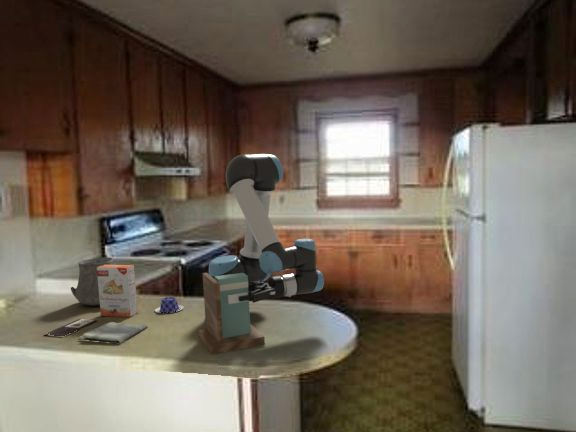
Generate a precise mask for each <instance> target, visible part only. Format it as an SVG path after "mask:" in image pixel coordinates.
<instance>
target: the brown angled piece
mask: <svg viewBox="0 0 576 432" xmlns="http://www.w3.org/2000/svg"><path fill="white" fill-rule="evenodd" d="M202 285H203V300H204V301H203V302H204V318H205V328H202V329H198V335H199V338H200V340H201V341H202V343H203V344H204V345H205V347H206V349H207V350H208V351H209V353H210V354H211V356H212V355H216V354H217V355H218V354H221V353H227V352H231V351H236V350H242V349H246V348H251V347H257V346H261V345H265V344H266V343H265V341H266V340H265V339H266V338H265V336H264V335H263V334H262V333H261V332H260V331H259V330H258V329H257V328H256V327H254V325H252V324H251V323H250V330H251V333H249V334H244V335H239V336H233V337H228V338H223V331H222V315H221V298H220V283H218V282H217V281H216V280H215V279H214V278H213V277H211V276H210V275H209V272H202Z"/></svg>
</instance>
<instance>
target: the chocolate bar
mask: <svg viewBox="0 0 576 432" xmlns="http://www.w3.org/2000/svg"><path fill="white" fill-rule="evenodd" d="M97 322H98V320H97V319H96V320H95V319H87V318H86V319H85V318H83V319H82V318H78V319H75V320H74V321H71V322H69V323H67V324H64V325H62V326H60V327H58V328H56V329H53V330H51V331H49V332H47V333H48V334H49V333H50V335H54V336H65V335H67V334H69V333H72V332H74V331H76V330H78V331H80V330H79V329H81V328H83V329H85V328H87V327H89V326H91V325H93V324H96V323H97ZM86 326H87V327H86ZM84 327H85V328H84ZM81 330H82V329H81ZM76 332H77V331H76ZM74 333H75V332H74ZM45 334H46V333H45ZM48 334H46V335H48ZM72 334H73V333H72Z"/></svg>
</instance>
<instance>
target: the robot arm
mask: <svg viewBox="0 0 576 432" xmlns="http://www.w3.org/2000/svg"><path fill="white" fill-rule="evenodd" d="M283 169H284V168H283V164H282V163H281V161H280V160H279V158H278V157H277V156H276V155H274V154H270V153H269V154H268V153H257V154H256V153H253V154H240V155H236V156H235V157H233V158H232V159H231V160H230V162H229V163H228V164H227V166H226V171H225V182H226V186H227V189H228V191H229V193H230V195H232V196H234V197H235V199H236V201H237V204H238V206H239V208H240V210H241V212H242V214H243V216H244V218H245V220H246V221H245V222H246V224H245V232H244V233H245V234H244V242H243V243H244V244H243V248H241V249H240V250H239V256H237V255H233V254H232V255H231V254H229V255H223V256H218V257H216V258H214V259H211V261H210V262H209V264H208V274H209V275H210V276H211V277H213V278H214V279H215V276H222V275H230V274H238V273H244V274H246V275H247V276H248V293H241V294H234V295H228V304H233V303H239V302H246V301H248V300H249V302H252V303H253V304H254V303H257V302H260V301H263V300H266V299H269V298H272V299H278V298H282V297H288V298H291V297H292V296H296V295H302V294H311V293H312V294H313V293H315V292H319V291H322V290H323V288H324V284H325V279H324V275H323V273H322V271H320V270H317V254H316V252H317V249H316V243H315V242H316V241H315V240H314V239H312V238H297V239H295V240H294V243H293V246H289V247H284V246H283V244H282V242H281V240H280V238H279V236H278V234H277V232H276V230H275V228H274V226H273V224H272V222H271V220H270V218H269V212H270V206H271V205H270V203H271V194H272V193H273V192H275V191H276V184H277V185H278V183H280V182H281V181H282V179H283V176H284V170H283ZM287 270H295V272H294V273H288V274H287V273H286V274H281V275H275V276H271V275H272V274H277V273H280V272H284V271H287ZM267 280H268V281H267ZM265 281H267V282H265Z"/></svg>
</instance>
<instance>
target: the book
mask: <svg viewBox="0 0 576 432" xmlns="http://www.w3.org/2000/svg"><path fill="white" fill-rule="evenodd" d="M215 280H216V281H217V282H218V283H220V298H221V315H222V331H223V338H228V337H233V336H239V335H244V334H249V333H251V330H250V324H251V318H250V315H251V314H250V301H249V300H248V301H246V302H239V303H233V304H228V295H234V294H241V293H248V276H247V275H246V274H244V273H238V274H230V275H222V276H215Z"/></svg>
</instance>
